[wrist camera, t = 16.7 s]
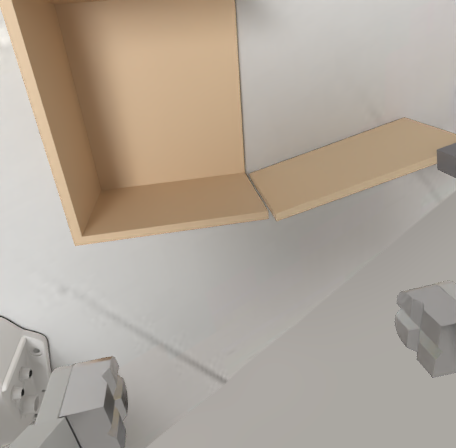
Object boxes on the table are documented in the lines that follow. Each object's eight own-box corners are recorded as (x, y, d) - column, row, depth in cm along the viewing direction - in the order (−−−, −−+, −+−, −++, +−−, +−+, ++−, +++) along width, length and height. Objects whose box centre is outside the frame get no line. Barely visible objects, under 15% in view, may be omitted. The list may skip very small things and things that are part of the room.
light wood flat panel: (252, 183, 45) (295, 253, 30) (247, 169, 44) (289, 234, 29) (405, 128, 45) (523, 171, 30) (404, 112, 44) (525, 149, 29)
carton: (243, 176, 45) (268, 218, 34) (97, 195, 43) (75, 245, 32) (232, -18, 36) (261, -42, 25) (44, -5, 34) (-10, -25, 23)
